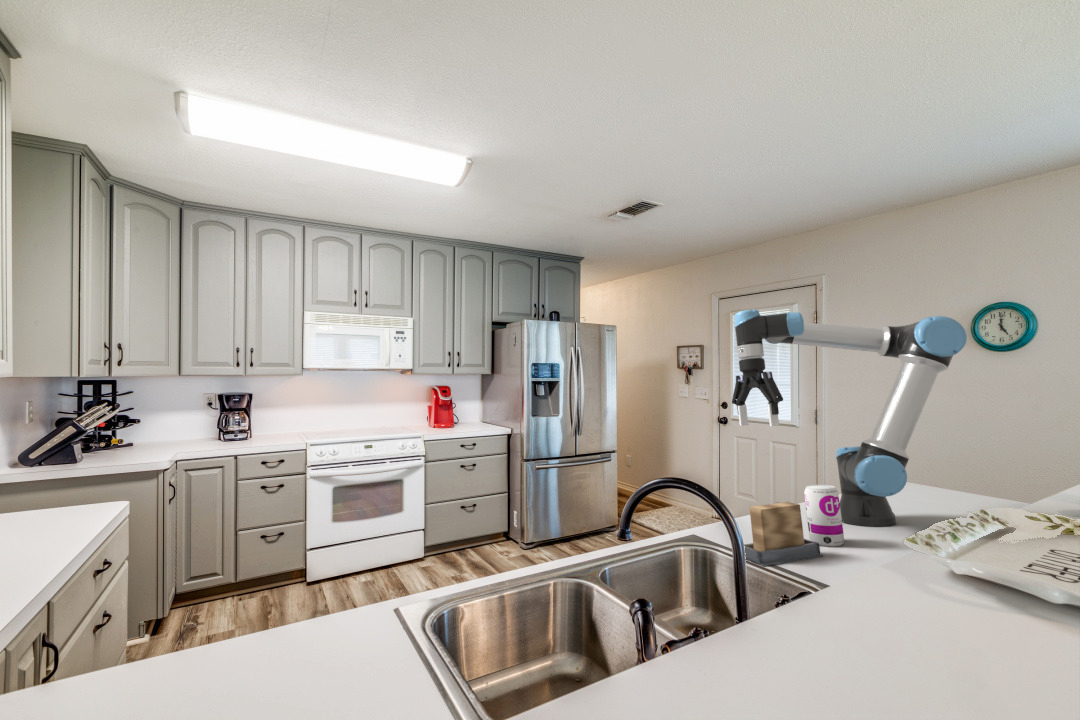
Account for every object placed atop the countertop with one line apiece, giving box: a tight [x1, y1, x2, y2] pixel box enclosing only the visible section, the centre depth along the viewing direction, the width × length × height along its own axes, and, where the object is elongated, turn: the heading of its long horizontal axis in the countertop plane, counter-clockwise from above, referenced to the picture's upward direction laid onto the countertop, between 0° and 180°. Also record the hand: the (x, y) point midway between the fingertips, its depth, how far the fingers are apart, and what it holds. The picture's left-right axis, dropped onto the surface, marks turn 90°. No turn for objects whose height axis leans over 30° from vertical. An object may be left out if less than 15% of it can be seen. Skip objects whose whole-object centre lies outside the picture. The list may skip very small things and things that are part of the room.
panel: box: [749, 501, 805, 551], centre depth 120 cm, size 12×4×12 cm, turn 105°
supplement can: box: [803, 484, 845, 548], centre depth 129 cm, size 8×8×15 cm
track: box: [743, 538, 825, 568], centre depth 120 cm, size 18×9×3 cm, turn 105°
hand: (758, 425), depth 149 cm, fingers open, 13 cm apart
